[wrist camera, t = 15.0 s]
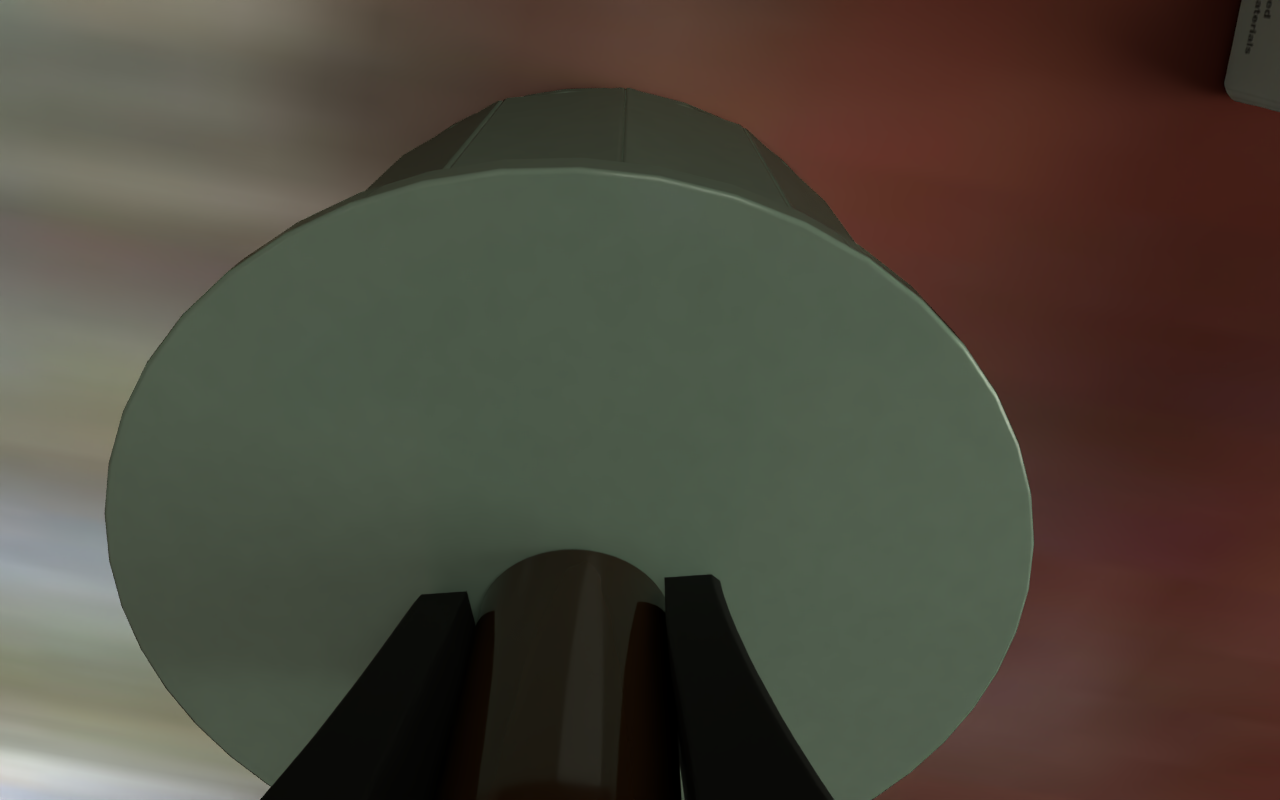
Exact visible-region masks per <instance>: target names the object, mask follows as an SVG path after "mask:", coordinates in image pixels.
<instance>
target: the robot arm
mask: <svg viewBox="0 0 1280 800" xmlns="http://www.w3.org/2000/svg"><path fill="white" fill-rule="evenodd" d="M664 581H665V616H666V629H667V639H668V650H669V660H670V671H671V680H672V687H673V693H674V700H675V708H676V716H677V726H678V744H679V762H680V771H681V778H682V785H683V791H684V798H685V800H834V798H833V797H832V795H831V794H830V793H829V791H828V790H827V788H826V787H825V785H824V784H823V782H822V781H821V779H820V778H819V776H818V775H817V773H816V771H815V770H814V768H813V767H812V765H811V764H810V762H809V760H808V759H807V757H806V756H805V754H804V752H803V751H802V749H801V748H800V746H799V745H798V743H797V741H796V740H795V738H794V736H793V735H792V733H791V731H790V730H789V728H788V726H787V725H786V723H785V721H784V720H783V718H782V716H781V715H780V713H779V711H778V709H777V707H776V705H775V704H774V702H773V700H772V698H771V696H770V694H769V693H768V691H767V689H766V687H765V685H764V684H763V682H762V680H761V678H760V676H759V674H758V673H757V671H756V669H755V667H754V665H753V663H752V661H751V659H750V657H749V655H748V652H747V650H746V648H745V646H744V644H743V642H742V639H741V637H740V635H739V633H738V631H737V628H736V626H735V624H734V621H733V619H732V616H731V614H730V611H729V608H728V606H727V603H726V600H725V597H724V594H723V590H722V586H721V582H720V580H719V579H717V578H716V577H715V576H713V575H712V574H707V575H693V576H678V577H664ZM475 628H476V625H475V621H474V617H473V613H472V609H471V605H470V601H469V597H468V593H467V591H463V592H449V593H434V594H421V595H420V596H419V597H418V599H417V600H416V601H415V602H414V603H413V605H412V606H411V607H410V609H409V610H408V611H407V613H406V614H405V616H404V617H403V618H402V620H401V621H400V622H399V624H398V625H397V627H396V628H395V629H394V631H393V632H392V634H391V635H390V636H389V638H388V639H387V641H386V642H385V643H384V645H383V646H382V647H381V649H380V650H379V652H378V653H377V654H376V656H375V657H374V658H373V660H372V661H371V662H370V664H369V665H368V666H367V668H366V669H365V670H364V672H363V673H362V675H361V676H360V677H359V679H358V680H357V681H356V683H355V684H354V685H353V686H352V688H351V689H350V690H349V692H348V693H347V694H346V695H345V697H344V698H343V699H342V701H341V702H340V703H339V704H338V706H337V707H336V708H335V710H334V711H333V712H332V713H331V715H330V716H329V717H328V719H327V720H326V721H325V722H324V724H323V725H322V726H321V728H320V729H319V730H318V731H317V733H316V734H315V735H314V736H313V738H312V739H311V740H310V741H309V743H308V744H307V745H306V746H305V747H304V749H303V750H302V751H301V752H300V753H299V754H298V756H297V757H296V758H295V759H294V760H293V762H292V763H291V764H290V765H289V766H288V767H287V769H286V770H285V771H284V772H283V773H282V774H281V776H280V777H279V778H278V779H277V780H276V782H275V783H274V784H273V785H272V786H271V787H270V789H269V790H268V791H267V792H266V793H265V795H264V796H263V797H262V798H261V799H260V800H436V798H437V794H438V789H439V785H440V780H441V776H442V772H443V767H444V763H445V759H446V754H447V750H448V746H449V741H450V737H451V732H452V728H453V724H454V719H455V715H456V711H457V706H458V702H459V697H460V693H461V689H462V684H463V680H464V676H465V671H466V667H467V663H468V658H469V654H470V649H471V645H472V641H473V636H474V632H475Z"/></svg>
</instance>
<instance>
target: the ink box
mask: <svg viewBox="0 0 1280 800" xmlns="http://www.w3.org/2000/svg"><path fill="white" fill-rule="evenodd" d="M1224 86H1225V89H1226V92H1227V94H1228V95H1229V96H1230V98H1231V99H1233V100H1234V101H1237V102H1242V103H1246V104H1250V105H1255V106H1259V107H1263V108H1267V109H1270V110H1274V111H1278V112H1280V0H1242V1H1241V5H1240V10H1239V14H1238V19H1237V24H1236V29H1235V34H1234V39H1233V44H1232V49H1231V53H1230V58H1229V62H1228V67H1227V72H1226V77H1225V81H1224Z"/></svg>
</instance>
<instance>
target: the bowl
mask: <svg viewBox="0 0 1280 800" xmlns="http://www.w3.org/2000/svg"><path fill="white" fill-rule="evenodd" d="M543 158H590V159H599V160H608V161H617V162H626V163H635V164H644V165H653V166H660V167H664V168H668V169H672V170H676V171H680V172H684V173H688V174H692V175H697V176H701V177H705V178H709V179H713V180H717V181H721V182H725V183H729V184H733V185H735V186H738V187H740V188H743V189H745V190H748V191H750V192H753V193H755V194H758V195H760V196H763V197H765V198H768V199H770V200H773V201H775V202H778V203H780V204H783V205H785V206H788V207H790V208H793V209H795V210H798V211H800V212H802V213H804V214H805V215H807V216H809V217H811V218H812V219H814V220H816V221H818V222H819V223H821V224H823V225H825V226H826V227H828V228H830V229H832V230H833V231H835V232H837V233H839V234H840V235H842V236H844V237H846V238H847V239H849V240H851V241H853V242H854V240H853V239H852V237H851V236H850V235H849V233H848V232H847V231H846V229H845V228H844V226H843V225H842V224H841V222H840V221H839V220H838V218H837V217H836V215H835V214H834V213H833V211H832V210H831V208H830V207H829V206H828V204H827V203H826V202H825V201H824V200H823V199H822V198H821V197H820V196H819V195H818V194H817V193H816V192H815V191H813V190H812V189H811V188H810V187H809V186H808V185H807V184H806V183H805V182H804V181H803V180H802V179H800V178H799V177H798V176H797V175H796V174H795V173H794V172H793V170H792V169H791V168H790V167H789V166H788V165H787V164H786V163H785V162H784V161H783V160H782V159H781V158H779V157H778V156H777V155H776V154H774V153H773V152H772V151H771V150H769V149H768V148H767V147H766V146H765V145H764V144H762V143H761V142H760V141H759V140H758V139H757V138H756V137H755V136H754V135H753V134H752V133H750V132H749V131H748V130H747V129H746V128H743V127H742V126H741V125H739V124H736V123H733V122H730V121H727V120H724V119H722V118H720V117H718V116H715V115H713V114H711V113H708V112H706V111H703V110H701V109H699V108H696V107H694V106H691V105H689V104H687V103H684V102H680V101H676V100H672V99H668V98H665V97H661V96H657V95H653V94H649V93H645V92H641V91H638V90H635V89H632V88H627V89H625V88H611V89H610V88H582V89H562V90H556V91H550V92H544V93H537V94H531V95H526V96H523V97H513V98H506V99H504V100H503V101H502V100H501V101H497V102H495V103H493V104H492V105H490V106H488V107H486V108H485V109H483V110H481V111H479V112H478V113H475V114H473V115H471V116H469V117H467V118H465V119H463V120H461V121H459V122H457V123H455V124H453V125H452V126H450V127H449V128H447V129H446V130H444V131H443V132H441V133H440V134H438V135H437V136H435V137H434V138H432V139H430V140H429V141H427V142H425V143H423V144H422V145H420V146H418V147H416V148H414V149H413V150H411V151H409V152H407V153H406V154H404V155H403V156H402V157H401V158H399V159H398V160H397V161H396V162H395V163H394V164H393V165H392V166H391V167H390V168H389V169H388V170H387V171H386V172H385V173H383V174H382V175H381V176H380V177H379V178H378V179H377V180H376V181H375V182H374V183H373V184H372V185H371V186H370V187H369V188H368V189H367V190H370V189H373V188H377V187H380V186H383V185H387V184H390V183H393V182H396V181H400V180H403V179H406V178H410V177H413V176H416V175H419V174H423V173H426V172H429V171H434V170H441V169H447V168H453V167H460V166H466V165H472V164H479V163H485V162H492V161H498V160H504V159H543ZM367 190H365V191H367ZM854 243H855V242H854Z"/></svg>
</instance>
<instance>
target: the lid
mask: <svg viewBox="0 0 1280 800" xmlns="http://www.w3.org/2000/svg"><path fill="white" fill-rule="evenodd" d="M105 523H106V533H107V543H108V553H109V562H110V566H111V569H112V573H113V577H114V580H115V584H116V588H117V591H118V595H119V598H120V602H121V606H122V608H123V611H124V613H125V615H126V617H127V619H128V622H129V624H130V626H131V628H132V630H133V633H134V635H135V637H136V639H137V641H138V644H139V646H140V648H141V650H142V652H143V653H144V655H145V656H146V658H147V659H148V661H149V663H150V664H151V666H152V667H153V669H154V670H155V672H156V674H157V675H158V677H159V678H160V680H161V681H162V683H163V684H164V686H165V688H166V689H167V690H168V691H169V693H170V694H171V695H172V696H173V697H174V699H175V700H176V701H177V702H178V703H179V704H180V706H181V707H182V708H183V709H184V710H185V712H186V713H187V714H188V715H189V716H190V718H191V719H192V720H193V721H194V722H195V724H196V725H197V726H199V727H200V728H201V729H202V730H203V731H204V732H205V733H206V734H207V735H208V736H209V737H210V738H211V739H212V740H213V741H214V742H216V743H217V744H218V745H219V746H220V747H221V748H222V749H223V750H224V751H225V752H226V753H227V754H228V755H229V756H231V757H232V758H233V759H235V760H236V761H237V762H238V763H240V764H241V765H242V766H244V767H245V768H246V769H248V770H249V771H250V772H252V773H253V774H254V775H256V776H257V777H258V778H260V779H261V780H262V781H264V782H265V783H266V784H268V785H269V786H272V785H273V784H274V783H275V782H276V780H277V779H278V778H279V777H280V776H281V774H282V773H283V772H284V771H285V770H286V769H287V767H288V766H289V765H290V764H291V763H292V762H293V760H294V759H295V758H296V757H297V756H298V754H299V753H300V752H301V751H302V750H303V749H304V747H305V746H306V745H307V744H308V743H309V741H310V740H311V739H312V738H313V736H314V735H315V734H316V733H317V731H318V730H319V729H320V728H321V726H322V725H323V724H324V722H325V721H326V720H327V719H328V717H329V716H330V715H331V713H332V712H333V711H334V710H335V708H336V707H337V706H338V704H339V703H340V702H341V701H342V699H343V698H344V697H345V695H346V694H347V693H348V692H349V690H350V689H351V688H352V686H353V685H354V684H355V683H356V681H357V680H358V679H359V677H360V676H361V675H362V673H363V672H364V670H365V669H366V668H367V666H368V665H369V664H370V662H371V661H372V660H373V658H374V657H375V656H376V654H377V653H378V652H379V650H380V649H381V647H382V646H383V645H384V643H385V642H386V641H387V639H388V638H389V636H390V635H391V634H392V632H393V631H394V629H395V628H396V627H397V625H398V624H399V622H400V621H401V620H402V618H403V617H404V616H405V614H406V613H407V611H408V610H409V609H410V607H411V606H412V605H413V603H414V602H415V601H416V600H417V599H418V597H419V596H420V595H421V594H434V593H449V592H463V591H467V593H468V597H469V601H470V605H471V609H472V613H473V617H474V621H475V625H476V628H475V632H474V636H473V641H472V645H471V649H470V654H469V658H468V663H467V667H466V671H465V676H464V680H463V684H462V689H461V693H460V697H459V702H458V706H457V711H456V715H455V719H454V724H453V728H452V732H451V737H450V741H449V746H448V750H447V754H446V759H445V763H444V767H443V772H442V776H441V780H440V785H439V789H438V794H437V798H436V800H685V798H684V791H683V785H682V778H681V771H680V762H679V744H678V726H677V716H676V708H675V700H674V693H673V687H672V680H671V671H670V660H669V650H668V639H667V629H666V616H665V581H664V577H678V576H693V575H707V574H712V575H713V576H715V577H716V578H717V579H719V580H720V582H721V586H722V590H723V594H724V597H725V600H726V603H727V606H728V608H729V611H730V614H731V616H732V619H733V621H734V624H735V626H736V628H737V631H738V633H739V635H740V637H741V639H742V642H743V644H744V646H745V648H746V650H747V652H748V655H749V657H750V659H751V661H752V663H753V665H754V667H755V669H756V671H757V673H758V674H759V676H760V678H761V680H762V682H763V684H764V685H765V687H766V689H767V691H768V693H769V694H770V696H771V698H772V700H773V702H774V704H775V705H776V707H777V709H778V711H779V713H780V715H781V716H782V718H783V720H784V721H785V723H786V725H787V726H788V728H789V730H790V731H791V733H792V735H793V736H794V738H795V740H796V741H797V743H798V745H799V746H800V748H801V749H802V751H803V752H804V754H805V756H806V757H807V759H808V760H809V762H810V764H811V765H812V767H813V768H814V770H815V771H816V773H817V775H818V776H819V778H820V779H821V781H822V782H823V784H824V785H825V787H826V788H827V790H828V791H829V793H830V794H831V795H832V797H833V798H834V800H872V799H874V798H876V797H877V796H879V795H880V794H881V793H883V792H884V791H886V790H887V789H888V788H890V787H891V786H893V785H894V784H895V783H897V782H898V781H900V780H901V779H902V778H904V777H905V776H907V775H908V774H909V773H911V772H912V771H913V770H914V769H915V768H916V767H918V766H919V765H920V764H921V763H922V762H923V761H924V760H925V759H926V758H928V757H929V756H930V755H931V754H932V753H933V752H934V751H935V750H936V749H938V748H939V747H940V746H941V745H942V744H943V743H944V742H945V741H946V740H947V739H948V738H949V736H950V735H951V734H952V733H953V732H954V731H955V729H956V728H957V727H958V726H959V725H960V724H961V723H962V721H963V720H964V719H965V718H966V717H967V716H968V715H969V713H970V712H971V711H972V710H973V709H974V707H975V706H976V704H977V703H978V701H979V700H980V698H981V697H982V695H983V694H984V692H985V690H986V689H987V687H988V686H989V684H990V683H991V681H992V680H993V678H994V677H995V675H996V674H997V672H998V670H999V668H1000V666H1001V664H1002V662H1003V659H1004V657H1005V655H1006V653H1007V651H1008V649H1009V647H1010V644H1011V642H1012V640H1013V638H1014V636H1015V634H1016V631H1017V628H1018V624H1019V621H1020V617H1021V614H1022V610H1023V607H1024V604H1025V600H1026V597H1027V593H1028V590H1029V582H1030V573H1031V564H1032V556H1033V547H1034V533H1033V517H1032V501H1031V490H1030V486H1029V482H1028V478H1027V474H1026V470H1025V466H1024V462H1023V458H1022V454H1021V449H1020V445H1019V442H1018V440H1017V438H1016V435H1015V433H1014V431H1013V428H1012V426H1011V424H1010V422H1009V419H1008V417H1007V415H1006V413H1005V410H1004V408H1003V406H1002V404H1001V401H1000V399H999V397H998V394H997V393H996V391H995V390H994V388H993V387H992V385H991V384H990V382H989V381H988V379H987V378H986V376H985V375H984V373H983V372H982V370H981V369H980V367H979V366H978V364H977V363H976V361H975V360H974V358H973V357H972V355H971V354H970V352H969V351H968V349H967V348H966V346H965V345H964V343H963V342H962V341H961V340H960V338H959V337H958V336H957V335H956V334H955V332H954V331H953V330H952V329H951V328H950V327H949V326H948V325H947V324H946V322H945V321H944V320H943V319H942V318H941V317H940V316H939V315H938V314H937V313H936V312H935V311H934V310H933V309H932V307H931V306H930V305H929V304H928V303H927V302H926V301H925V300H924V299H923V298H922V297H921V296H920V295H919V294H918V292H917V291H916V290H915V289H914V288H913V287H912V286H911V285H909V284H908V283H907V282H906V281H904V280H903V279H902V278H901V277H899V276H898V275H897V274H895V273H894V272H893V271H892V270H890V269H889V268H888V267H887V266H885V265H884V264H883V263H881V262H880V261H879V260H878V259H876V258H875V257H874V256H873V255H871V254H870V253H869V252H867V251H866V250H865V249H864V248H862V247H861V246H860V245H858V244H856V243H854V242H853V241H851V240H849V239H847V238H846V237H844V236H842V235H840V234H839V233H837V232H835V231H833V230H832V229H830V228H828V227H826V226H825V225H823V224H821V223H819V222H818V221H816V220H814V219H812V218H811V217H809V216H807V215H805V214H804V213H802V212H800V211H798V210H795V209H793V208H790V207H788V206H785V205H783V204H780V203H778V202H775V201H773V200H770V199H768V198H765V197H763V196H760V195H758V194H755V193H753V192H750V191H748V190H745V189H743V188H740V187H738V186H735V185H733V184H729V183H725V182H721V181H717V180H713V179H709V178H705V177H701V176H697V175H692V174H688V173H684V172H680V171H676V170H672V169H668V168H664V167H660V166H653V165H644V164H635V163H626V162H617V161H608V160H599V159H590V158H543V159H504V160H498V161H492V162H485V163H479V164H472V165H466V166H460V167H453V168H447V169H441V170H434V171H429V172H426V173H423V174H419V175H416V176H413V177H410V178H406V179H403V180H400V181H396V182H393V183H390V184H387V185H383V186H380V187H377V188H373V189H370V190H367V191H363V192H360V193H358V194H356V195H354V196H352V197H350V198H348V199H345V200H343V201H341V202H339V203H337V204H335V205H333V206H331V207H329V208H326V209H324V210H322V211H320V212H318V213H316V214H314V215H312V216H309V217H307V218H305V219H303V220H301V221H299V222H297V223H295V224H294V225H292V226H291V227H290V228H288V229H287V230H285V231H284V232H282V233H281V234H279V235H278V236H276V237H275V238H273V239H272V240H270V241H269V242H267V243H266V244H264V245H263V246H261V247H260V248H258V249H257V250H255V251H254V252H253V253H251V254H250V255H248V256H247V257H245V258H244V259H242V260H241V261H240V262H239V263H237V264H236V265H235V266H234V267H233V268H231V269H230V270H229V271H228V272H227V273H226V274H225V275H224V276H223V277H221V278H220V279H219V280H218V281H217V282H216V283H215V284H214V285H213V286H212V287H211V288H210V289H209V290H208V291H207V292H206V293H205V294H204V295H202V296H201V297H200V298H199V299H198V300H197V301H196V302H195V303H194V304H193V305H192V306H191V307H190V308H189V309H188V310H187V311H186V312H185V313H183V314H182V316H181V317H180V318H179V320H178V321H177V322H176V324H175V325H174V326H173V328H172V329H171V330H170V332H169V333H168V335H167V336H166V337H165V339H164V340H163V341H162V343H161V344H160V345H159V347H158V348H157V349H156V351H155V352H154V353H153V355H152V356H151V357H150V359H149V360H148V361H147V363H146V365H145V367H144V369H143V371H142V373H141V376H140V378H139V380H138V382H137V384H136V386H135V388H134V390H133V392H132V394H131V396H130V398H129V400H128V402H127V404H126V406H125V408H124V410H123V413H122V417H121V420H120V424H119V427H118V431H117V435H116V438H115V442H114V446H113V449H112V453H111V456H110V460H109V466H108V478H107V490H106V502H105Z"/></svg>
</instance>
